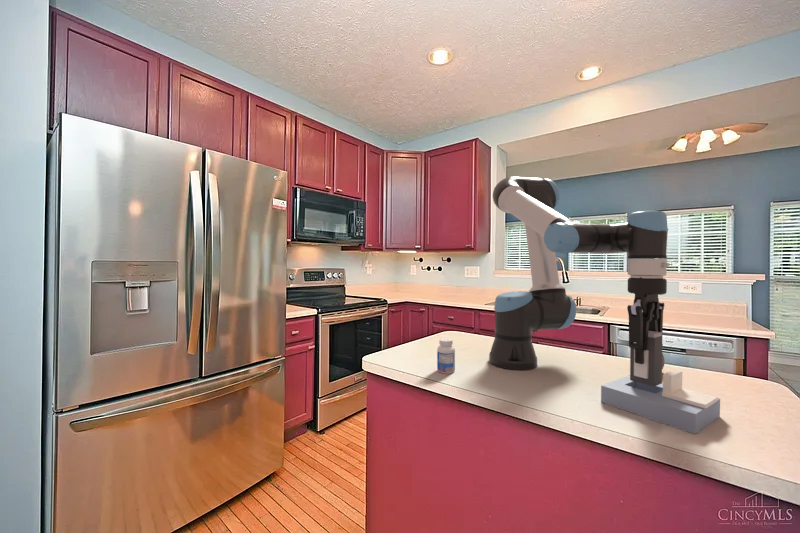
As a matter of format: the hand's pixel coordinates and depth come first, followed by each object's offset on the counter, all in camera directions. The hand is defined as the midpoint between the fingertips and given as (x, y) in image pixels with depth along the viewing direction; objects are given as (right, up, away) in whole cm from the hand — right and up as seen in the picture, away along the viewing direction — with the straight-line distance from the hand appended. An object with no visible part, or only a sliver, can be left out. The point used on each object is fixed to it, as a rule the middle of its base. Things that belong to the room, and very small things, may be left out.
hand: (645, 374), depth 81 cm
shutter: (+4, -3, -7) cm, 9 cm away
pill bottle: (-44, -7, +24) cm, 51 cm away
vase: (+18, -7, +24) cm, 31 cm away
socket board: (+1, -7, -3) cm, 8 cm away
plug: (0, -2, 0) cm, 2 cm away
